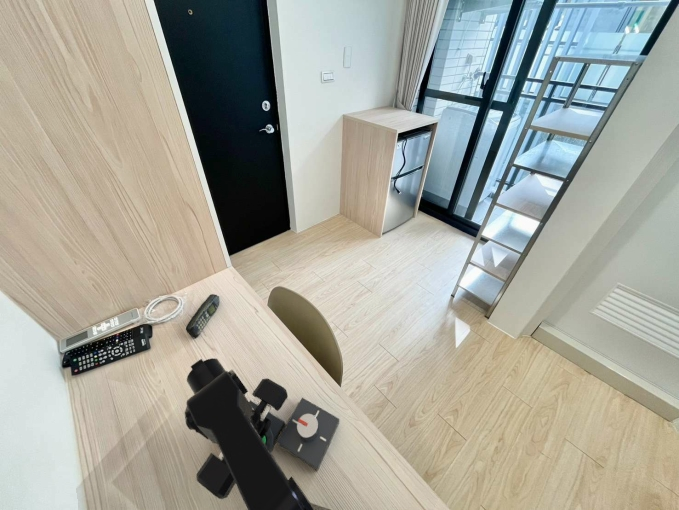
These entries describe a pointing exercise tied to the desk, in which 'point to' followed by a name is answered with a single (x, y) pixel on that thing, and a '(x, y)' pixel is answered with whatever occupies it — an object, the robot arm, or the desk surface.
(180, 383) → the desk surface
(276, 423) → the button block
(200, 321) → the mobile phone
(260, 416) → the robot arm
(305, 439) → the program dial
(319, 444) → the dial panel
